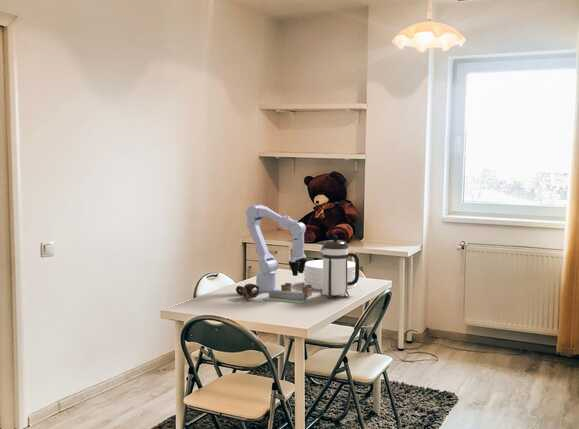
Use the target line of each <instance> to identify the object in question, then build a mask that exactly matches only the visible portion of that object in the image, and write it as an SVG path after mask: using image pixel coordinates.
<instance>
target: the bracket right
mask: <svg viewBox="0 0 579 429" xmlns="http://www.w3.org/2000/svg"><path fill="white" fill-rule="evenodd" d="M301 293H306V298H309V297H311V296H312V295H313V294H312V293H313V288H312V285H306V286H305V285H304V286H301Z"/></svg>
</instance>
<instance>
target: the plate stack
mask: <svg viewBox="0 0 579 429" xmlns="http://www.w3.org/2000/svg"><path fill="white" fill-rule="evenodd" d="M303 276H304V278H303V279H304V280H303V281H304V282H303V285H304V286H305V287H306V285H312V289H313V288H314V290H320V289H322V290H323V259H317V260H316V259H315V260H309V261H308V260H307V262H306V264H305V267H304V271H303ZM354 279H355V262H354V261H349V260H348V261H347V282H352V281H353V280H354ZM357 283H358V282H357ZM357 283H356V284H354V285H350V286H348V287H347V290H350V289H353V288H356V287H357V285H358V284H357ZM322 290H321V291H322Z"/></svg>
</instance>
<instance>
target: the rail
mask: <svg viewBox="0 0 579 429" xmlns="http://www.w3.org/2000/svg"><path fill="white" fill-rule="evenodd" d="M268 295H269V298H277V299H288V300H298V301H305V300H306V298H307V297H306V293H302V291H300V292H299V291H291V292H290V291H281V290H279V289H278V290H270V291H269V292H268ZM305 302H306V301H305Z"/></svg>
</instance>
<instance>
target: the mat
mask: <svg viewBox="0 0 579 429" xmlns="http://www.w3.org/2000/svg"><path fill="white" fill-rule="evenodd" d="M308 299H309V298H308V297H306V300H305V301H298V300H288V299H277V298H269V294H267V295H266V296H265V297H263V298H262V300H263V301H275V302H285V303H292V304H294V303H296V304H303V303H304V302H306V301H309V300H308Z"/></svg>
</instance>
